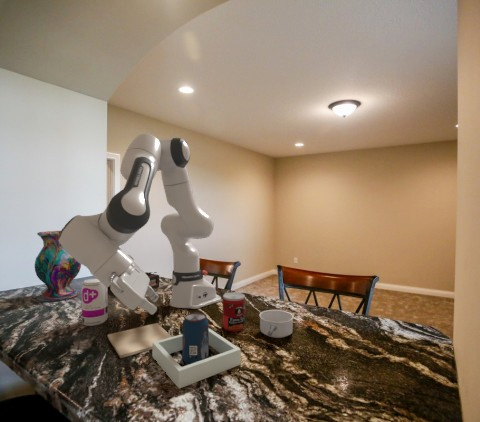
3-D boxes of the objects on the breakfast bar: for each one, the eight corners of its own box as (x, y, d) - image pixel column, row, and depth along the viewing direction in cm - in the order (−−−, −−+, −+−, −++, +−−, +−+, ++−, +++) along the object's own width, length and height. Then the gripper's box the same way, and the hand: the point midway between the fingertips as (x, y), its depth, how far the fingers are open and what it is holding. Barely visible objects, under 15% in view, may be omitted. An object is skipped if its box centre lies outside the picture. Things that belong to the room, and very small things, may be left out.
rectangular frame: (207, 340, 89) (207, 327, 89) (240, 364, 75) (240, 349, 75) (152, 356, 79) (152, 342, 79) (178, 388, 65) (179, 371, 65)
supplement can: (97, 327, 99) (97, 283, 99) (76, 325, 100) (76, 282, 100) (112, 318, 107) (112, 278, 107) (92, 316, 108) (92, 277, 108)
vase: (89, 294, 136) (89, 231, 136) (46, 305, 121) (46, 234, 121) (68, 288, 146) (68, 229, 146) (27, 298, 131) (27, 232, 130)
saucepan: (249, 350, 83) (249, 331, 83) (262, 324, 102) (262, 308, 102) (289, 355, 80) (289, 335, 80) (294, 327, 99) (295, 311, 99)
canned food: (228, 333, 94) (228, 300, 94) (219, 325, 101) (219, 293, 101) (249, 329, 98) (249, 297, 97) (238, 321, 105) (238, 291, 105)
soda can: (185, 353, 81) (185, 311, 81) (210, 354, 81) (210, 311, 81) (179, 367, 74) (179, 320, 74) (206, 368, 74) (206, 321, 74)
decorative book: (126, 267, 165) (164, 273, 150) (126, 280, 165) (164, 288, 150) (94, 273, 149) (134, 281, 133) (94, 288, 149) (133, 297, 133)
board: (156, 325, 101) (156, 323, 101) (175, 342, 88) (175, 339, 88) (107, 337, 91) (107, 334, 91) (120, 358, 78) (120, 355, 78)
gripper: (117, 268, 63) (163, 309, 65) (131, 254, 83) (165, 286, 85) (95, 290, 62) (143, 331, 64) (114, 270, 82) (150, 302, 84)
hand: (156, 305), depth 75 cm, fingers open, 8 cm apart
